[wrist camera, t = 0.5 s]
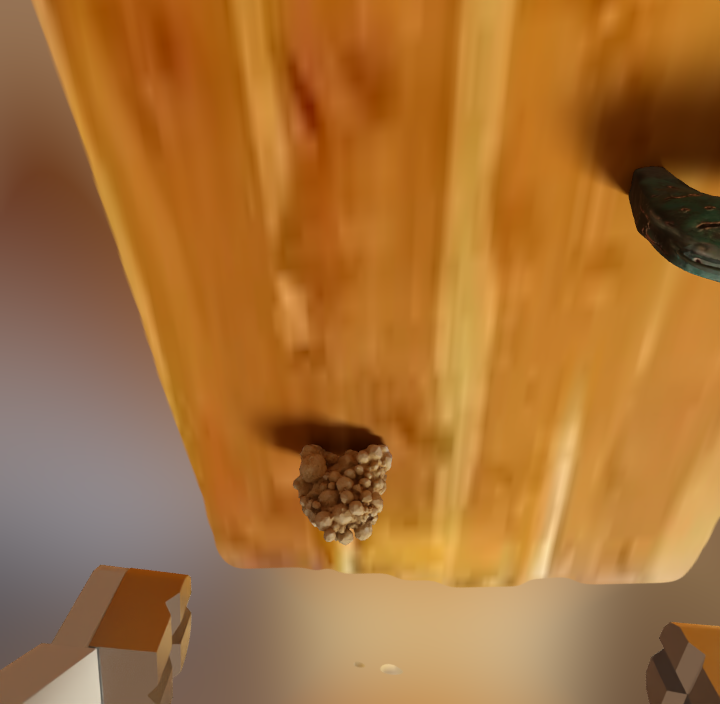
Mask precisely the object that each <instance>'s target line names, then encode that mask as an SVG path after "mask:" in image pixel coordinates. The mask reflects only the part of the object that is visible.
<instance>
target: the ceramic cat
mask: <svg viewBox="0 0 720 704" xmlns="http://www.w3.org/2000/svg"><path fill="white" fill-rule="evenodd" d="M629 201H630V204H631V209H632V213H633V217H634V220H635V224H636V228H637V230H638V232H639V233H640V234H641V235H642V236H644V237H645V238H646V239H647V240H648V241H649V242H650V243H651V244H652V246H653V247H654V248H655V249H656V250H657V251H658V252H659V253H660V254H661V255H662V256H663V257H665V258H666V259H667V260H668V261H669V262H671V263H672V264H674V265H676V266H677V267H679V268H681V269H683V270H685V271H687V272H689V273H692V274H694V275H697V276H700V277H704V278H707V279H710V280H714V281H717V282H720V197H718V196H711V195H708V194H705V193H701V192H699V191H697V190H695V189H693V188H691V187H689V186H688V185H686V184H685V183H684V182H682V181H681V180H679V179H677V178H676V177H675V176H674V175H672V174H671V173H670V172H668V171H667V170H666V169H665V168H663V167H654V166H651V167H644V168H640V169H637V170H635V172H634V174H633V179H632V186H631V189H630V192H629Z"/></svg>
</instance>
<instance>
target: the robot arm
mask: <svg viewBox="0 0 720 704" xmlns="http://www.w3.org/2000/svg"><path fill="white" fill-rule="evenodd" d="M190 595H191V577H190V576H189V575H183V574H176V573H168V572H160V571H151V570H143V569H135V568H130V569H129V568H122V567H114V566H106V565H100V566H99V567H97V568H96V569H95V570H94V571H93V572H92V574H91V576H90V578H89V579H88V581H87V583H86V584H85V586H84V588H83V589H82V592H81V593H80V595H79V597H78V598H77V600H76V602H75V603H74V605H73V607H72V608H71V610H70V612H69V614H68V615H67V617H66V619H65V621H64V623H63V624H62V626H61V628H60V629H59V631H58V633H57V635H56V636H55V638H54V640H53V641H52V643H51V644H45V643H41V644H40V645H38V646H37V647H35V648H34V649H32V650H31V651H29V652H28V653H26V654H24V655H23V656H21V657H20V658H18V659H17V660H15V661H14V662H12V663H11V664H10V665H8V666H6V667H5V668H3V669H2V670H0V704H171V700H172V698H173V687H172V686H173V683H172V681H173V678H175V677H176V676H177V675H178V674H179V673H180V672H181V670H182V667H183V664H184V660H185V657H186V653H187V648H188V644H189V639H190V631H191V612H190V610H189V609H188V608H187V607H186V606H187V603H188V600H189V598H190ZM659 639H660V641H661V643H662V645H663V647H664V649H662V650H661V651H660V652H658V653H657V654H655V655H654V656H652V657H651V659H650V662H649V665H648V668H647V671H646V690H647V694H648V699H649V703H650V704H720V626H709V625H698V624H686V623H675V622H670V623H669V624H667V625H666V626H665V627H664V628H663V630H662V632H661V635H660V637H659Z"/></svg>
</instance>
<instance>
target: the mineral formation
mask: <svg viewBox="0 0 720 704" xmlns="http://www.w3.org/2000/svg"><path fill="white" fill-rule="evenodd" d="M300 455H301V460H302V461H301V465H300V468H299V470H300V476H299V477H298V478H297V479H296V480H294V482H293V486H294V488H295V489H297V490H298V491H299V498H300V499H301V500H300V504H301V505H302V510H303V512H304V514H305V515H306V516H308V518H309V520H310V522H311V523H312V524H313V525H314V526H315V527H318V529H319V530H321V531H325V532H324V539H325V540H326V541H327V542H331V541H332V540H335V541H337V540H338V541H339V542H340V543H342V544H344V545H347V544H349V543H350V542H352V541H353V534H352V532H351V531H350V530H349V529H350V528H352V529H354V531H355V536H356V538H358V539H360V540H366V539H367V538H368V537H370V536H371V534H372V525H374V524H375V523H376V521H377V519H378V516H377V513H378V512H381V510H382V508H383V500H382V498H381V497H380V494H381V495H382V494H383V493H384V492H385V489H386V482H385V481H386V477H387V475H385V473H386V471H388V470H389V469H390V468H391V461H392V455H391V454H390V452H389V450H388V447H387V446H386V445H383V444H382V445H374V444H373V445H369V446H368V447H367V449H365V450H361V451H359V453H358V452H356V451H353V450H348V451H346V452H345V455H343V456H339V457H338V456H337V455H336V454H333V453H332V452H326V451H325V449H322V448H321V446H319V445H314V444H312V445H306V446H305V447H303V449H302V452H301V453H300Z"/></svg>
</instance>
